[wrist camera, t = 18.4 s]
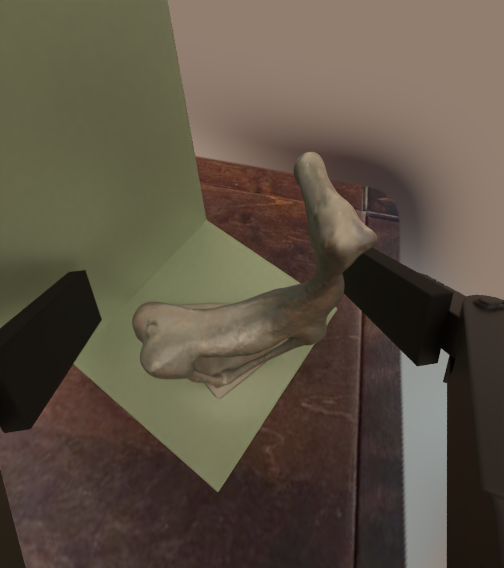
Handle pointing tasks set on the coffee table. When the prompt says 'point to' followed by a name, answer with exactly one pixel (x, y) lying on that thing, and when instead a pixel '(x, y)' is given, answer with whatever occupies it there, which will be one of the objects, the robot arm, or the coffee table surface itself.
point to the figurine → (258, 302)
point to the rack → (122, 211)
